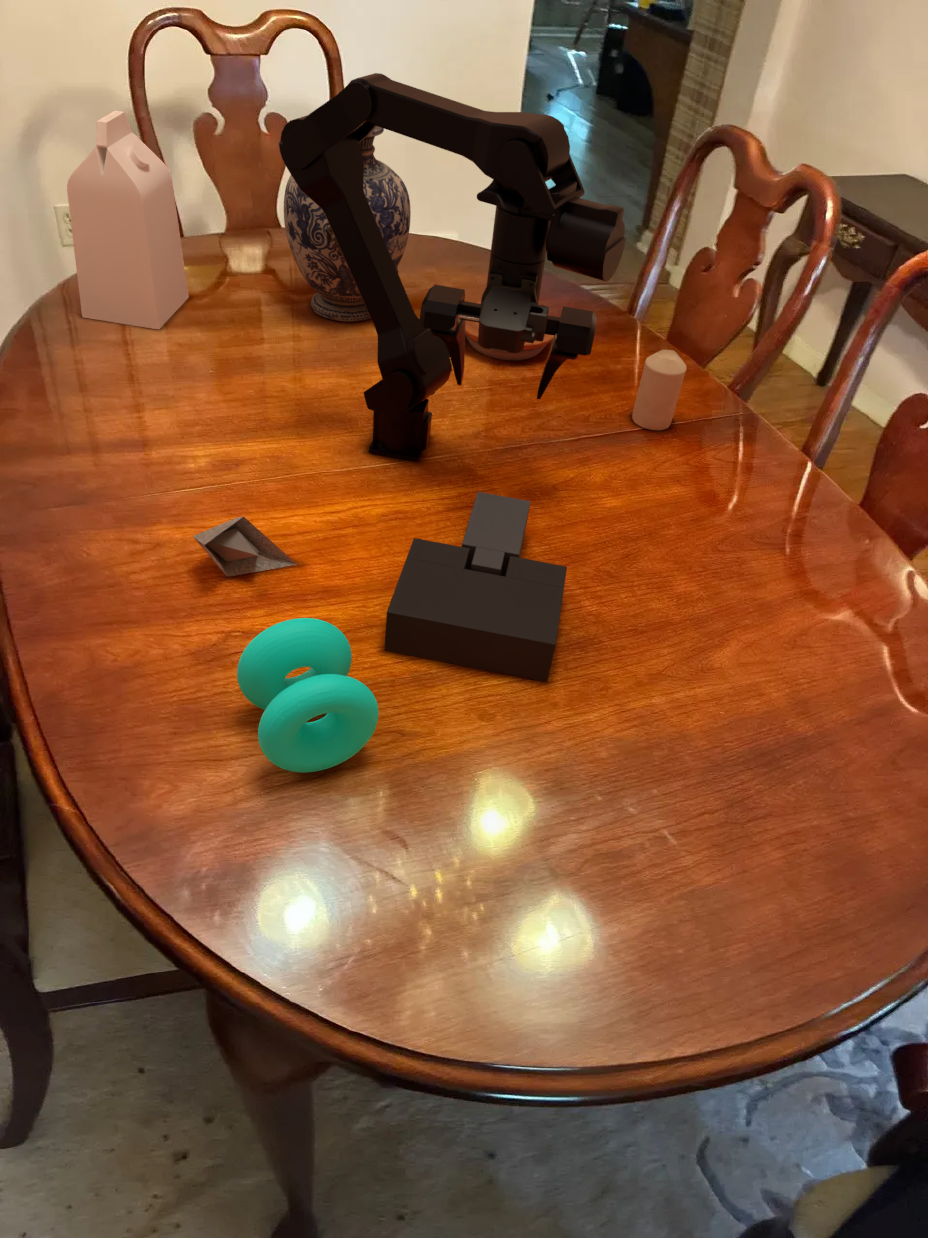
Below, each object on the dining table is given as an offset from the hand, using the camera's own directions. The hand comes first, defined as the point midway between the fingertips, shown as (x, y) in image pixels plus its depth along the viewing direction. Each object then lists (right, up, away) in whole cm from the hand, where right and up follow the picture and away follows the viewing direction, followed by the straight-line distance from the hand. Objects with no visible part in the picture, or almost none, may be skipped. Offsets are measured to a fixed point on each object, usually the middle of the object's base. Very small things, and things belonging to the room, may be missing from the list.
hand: (499, 390), depth 106 cm
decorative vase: (-23, +23, +40) cm, 52 cm away
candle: (+22, +1, +23) cm, 32 cm away
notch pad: (-3, -27, -12) cm, 30 cm away
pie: (+2, +16, +37) cm, 40 cm away
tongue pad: (-1, -20, -5) cm, 21 cm away
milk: (-53, +21, +33) cm, 66 cm away
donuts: (-18, -36, -25) cm, 48 cm away
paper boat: (-27, -22, -10) cm, 36 cm away
